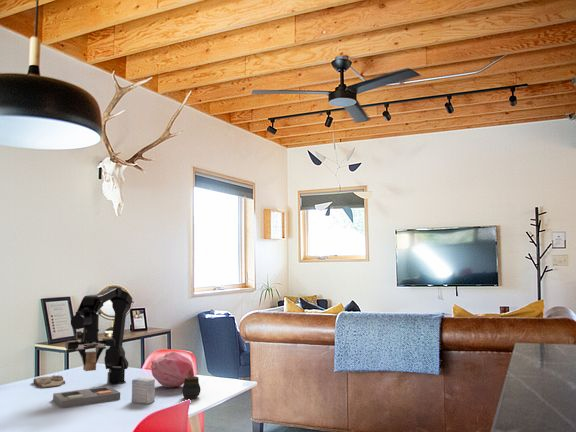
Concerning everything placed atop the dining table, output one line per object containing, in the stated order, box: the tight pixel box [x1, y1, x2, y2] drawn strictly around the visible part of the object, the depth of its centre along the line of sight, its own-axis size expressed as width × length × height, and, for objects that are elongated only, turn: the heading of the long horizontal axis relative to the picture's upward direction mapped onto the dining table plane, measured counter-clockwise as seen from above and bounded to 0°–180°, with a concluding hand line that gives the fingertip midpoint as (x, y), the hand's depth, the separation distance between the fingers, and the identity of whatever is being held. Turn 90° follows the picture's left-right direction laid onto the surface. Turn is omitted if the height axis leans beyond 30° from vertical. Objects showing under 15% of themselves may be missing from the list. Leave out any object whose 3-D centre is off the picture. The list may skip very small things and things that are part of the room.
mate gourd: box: [181, 371, 202, 400], centre depth 215 cm, size 7×8×10 cm
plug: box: [82, 351, 97, 372], centre depth 219 cm, size 4×4×7 cm
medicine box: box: [131, 377, 156, 405], centre depth 208 cm, size 8×4×9 cm, turn 65°
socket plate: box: [52, 385, 121, 409], centre depth 211 cm, size 22×14×3 cm, turn 126°
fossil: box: [32, 375, 66, 389], centre depth 237 cm, size 11×15×4 cm
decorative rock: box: [150, 351, 195, 389], centre depth 233 cm, size 19×14×15 cm
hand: (89, 364), depth 219 cm, fingers closed on plug, 4 cm apart
